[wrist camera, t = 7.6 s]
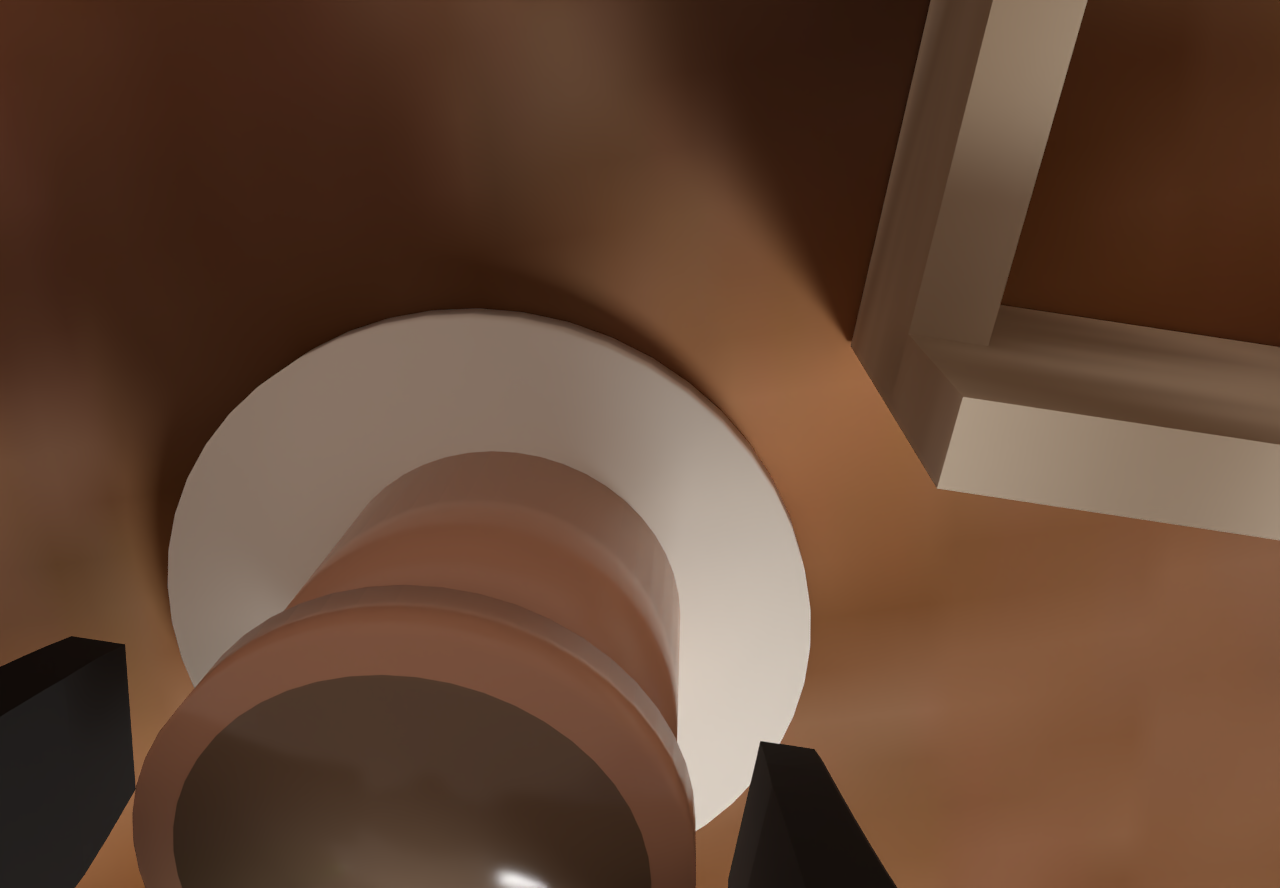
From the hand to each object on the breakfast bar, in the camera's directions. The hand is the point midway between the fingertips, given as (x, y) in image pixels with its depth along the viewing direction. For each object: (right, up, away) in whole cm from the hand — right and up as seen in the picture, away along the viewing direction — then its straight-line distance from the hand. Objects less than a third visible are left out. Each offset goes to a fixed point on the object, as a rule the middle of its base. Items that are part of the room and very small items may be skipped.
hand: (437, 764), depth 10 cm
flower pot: (0, +1, +2) cm, 3 cm away
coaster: (0, +1, +3) cm, 3 cm away
